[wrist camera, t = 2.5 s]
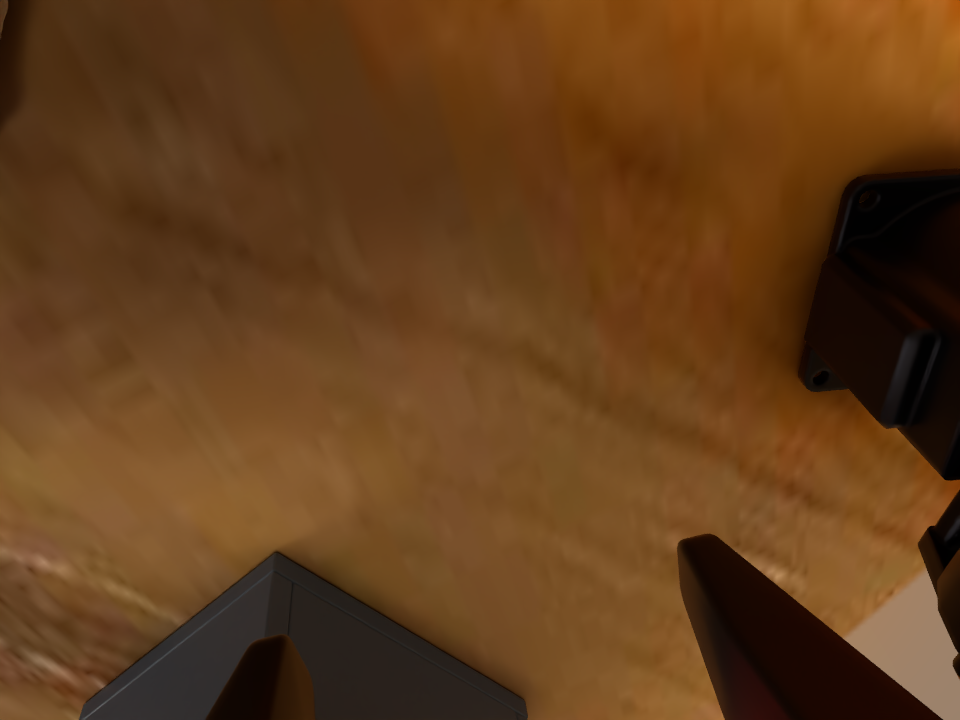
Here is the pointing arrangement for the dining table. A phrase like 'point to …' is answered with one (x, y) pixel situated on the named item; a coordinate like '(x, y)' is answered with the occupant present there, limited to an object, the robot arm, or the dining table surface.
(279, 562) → the lunchbox
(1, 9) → the pastry
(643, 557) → the dining table surface
